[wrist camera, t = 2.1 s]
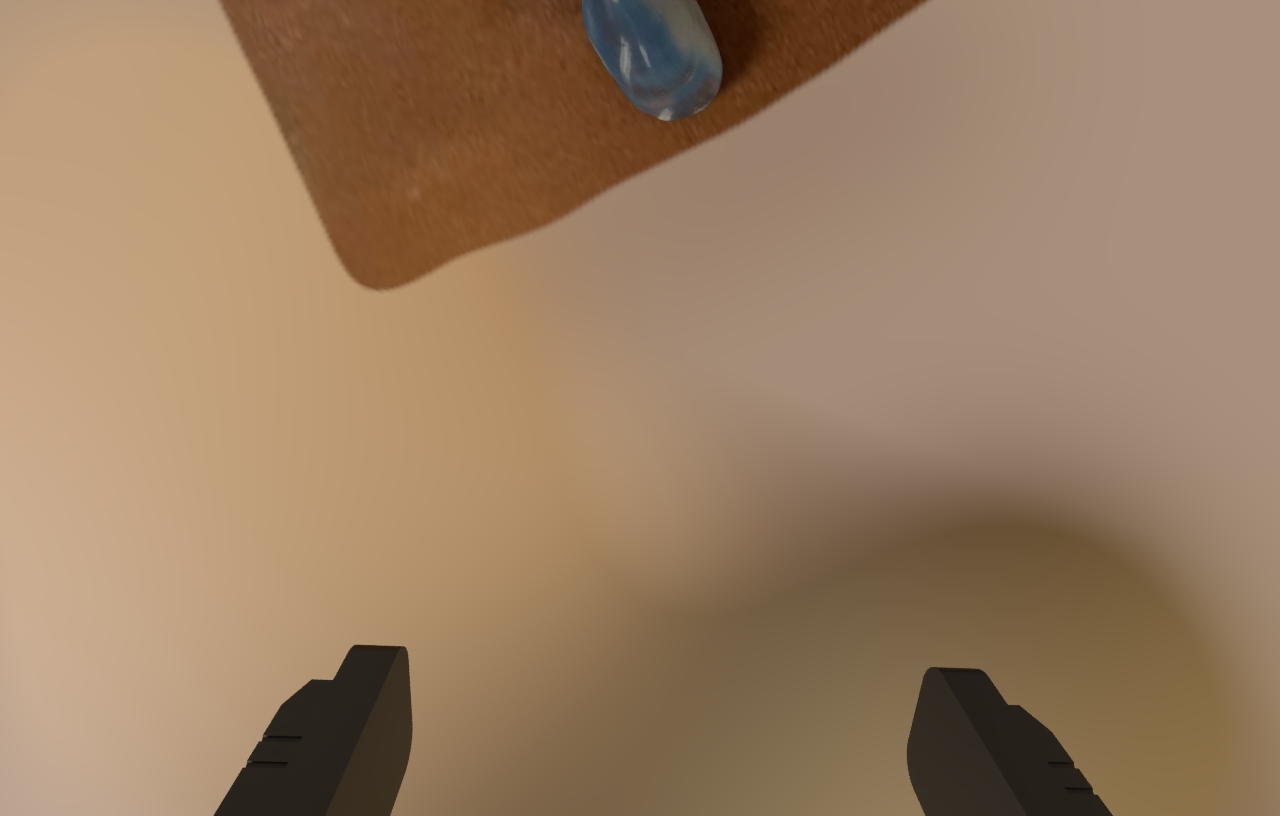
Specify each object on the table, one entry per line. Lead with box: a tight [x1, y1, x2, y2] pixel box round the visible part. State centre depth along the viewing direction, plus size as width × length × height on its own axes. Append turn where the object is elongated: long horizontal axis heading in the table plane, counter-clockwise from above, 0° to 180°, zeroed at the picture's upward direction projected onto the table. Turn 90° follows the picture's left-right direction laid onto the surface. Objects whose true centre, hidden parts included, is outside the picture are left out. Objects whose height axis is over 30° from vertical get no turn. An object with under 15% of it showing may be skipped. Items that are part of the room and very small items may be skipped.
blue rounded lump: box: [582, 0, 723, 121], centre depth 40 cm, size 6×9×10 cm
